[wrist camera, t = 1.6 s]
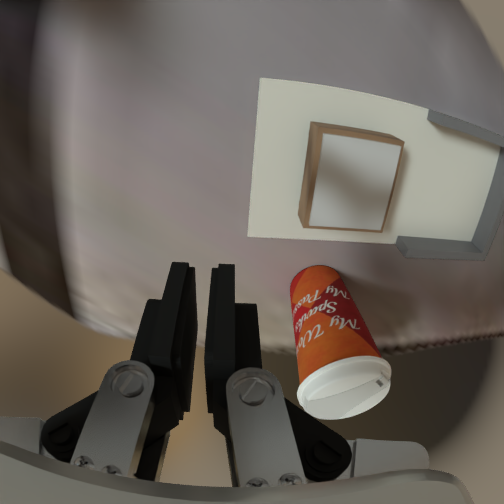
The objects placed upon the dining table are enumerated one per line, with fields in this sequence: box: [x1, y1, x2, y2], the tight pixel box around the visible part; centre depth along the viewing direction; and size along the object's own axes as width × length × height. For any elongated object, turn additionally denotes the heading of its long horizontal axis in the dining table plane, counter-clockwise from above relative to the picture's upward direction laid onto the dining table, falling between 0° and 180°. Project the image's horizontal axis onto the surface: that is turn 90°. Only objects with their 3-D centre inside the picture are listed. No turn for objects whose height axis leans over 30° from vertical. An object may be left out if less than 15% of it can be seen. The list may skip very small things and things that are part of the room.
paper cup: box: [290, 265, 391, 419], centre depth 27 cm, size 8×8×14 cm
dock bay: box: [248, 78, 504, 261], centre depth 25 cm, size 14×27×3 cm, turn 86°
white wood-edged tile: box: [298, 121, 405, 233], centre depth 24 cm, size 8×7×4 cm
